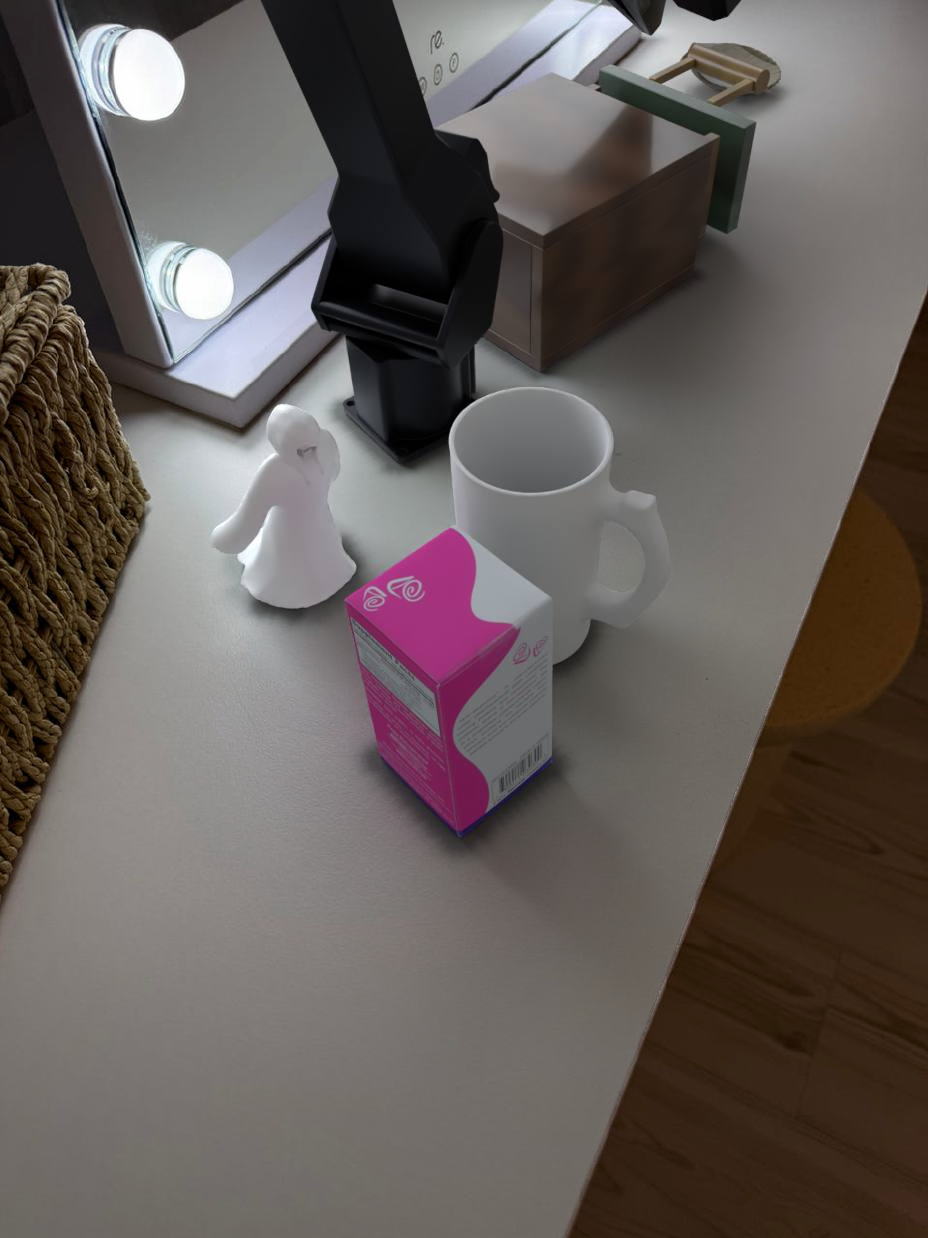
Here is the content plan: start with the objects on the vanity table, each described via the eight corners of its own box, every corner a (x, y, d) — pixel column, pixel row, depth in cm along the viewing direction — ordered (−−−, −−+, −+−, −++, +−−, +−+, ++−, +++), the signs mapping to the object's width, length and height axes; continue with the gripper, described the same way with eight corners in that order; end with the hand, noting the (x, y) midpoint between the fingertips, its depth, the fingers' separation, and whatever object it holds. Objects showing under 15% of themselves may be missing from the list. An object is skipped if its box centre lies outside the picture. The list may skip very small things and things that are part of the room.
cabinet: (548, 201, 77) (551, 71, 69) (693, 274, 70) (714, 139, 63) (396, 283, 71) (383, 151, 63) (540, 372, 64) (543, 235, 57)
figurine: (294, 649, 51) (244, 471, 42) (191, 573, 55) (124, 393, 45) (398, 560, 55) (374, 377, 45) (295, 494, 58) (253, 312, 49)
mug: (435, 641, 51) (417, 461, 42) (500, 553, 55) (498, 368, 45) (620, 724, 48) (647, 548, 38) (677, 624, 51) (714, 440, 42)
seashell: (752, 133, 85) (791, 71, 88) (761, 102, 82) (801, 39, 85) (662, 96, 87) (703, 37, 89) (668, 65, 84) (710, 5, 87)
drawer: (654, 138, 80) (666, 26, 74) (788, 196, 74) (813, 80, 68) (471, 236, 72) (467, 122, 66) (605, 311, 66) (614, 192, 60)
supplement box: (468, 685, 49) (457, 517, 40) (555, 763, 46) (564, 601, 38) (373, 756, 47) (339, 594, 38) (458, 843, 44) (444, 690, 35)
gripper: (848, -291, 50) (850, -24, 64) (564, -356, 58) (622, -107, 72) (701, -109, 50) (735, 116, 64) (439, -199, 58) (521, 19, 72)
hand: (651, 28), depth 68 cm, fingers closed
